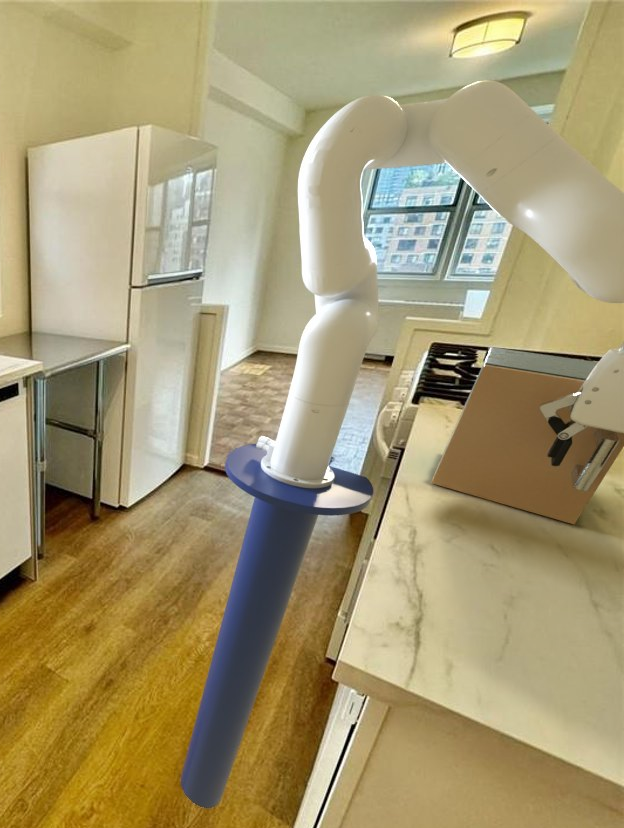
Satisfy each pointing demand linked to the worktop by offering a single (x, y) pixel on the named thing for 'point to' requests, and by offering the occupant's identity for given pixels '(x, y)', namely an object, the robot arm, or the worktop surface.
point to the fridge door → (524, 447)
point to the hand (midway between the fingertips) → (592, 471)
